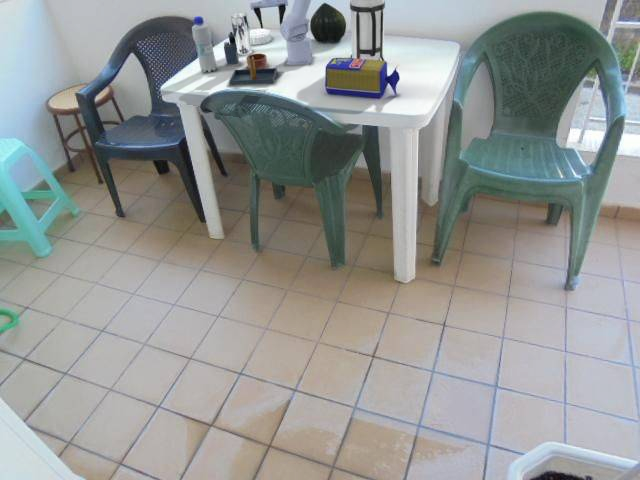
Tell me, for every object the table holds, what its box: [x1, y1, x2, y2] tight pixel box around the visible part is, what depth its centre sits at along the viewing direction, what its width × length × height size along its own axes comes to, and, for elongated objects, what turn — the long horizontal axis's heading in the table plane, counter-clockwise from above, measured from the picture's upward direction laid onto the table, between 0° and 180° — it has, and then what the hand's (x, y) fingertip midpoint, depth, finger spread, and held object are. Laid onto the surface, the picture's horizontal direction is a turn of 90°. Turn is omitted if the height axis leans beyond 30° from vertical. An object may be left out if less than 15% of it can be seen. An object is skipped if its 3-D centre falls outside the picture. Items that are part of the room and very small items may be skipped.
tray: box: [229, 67, 278, 86], centre depth 179 cm, size 16×10×2 cm, turn 86°
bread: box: [324, 57, 401, 99], centre depth 162 cm, size 10×25×10 cm, turn 70°
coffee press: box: [349, 0, 386, 61], centre depth 176 cm, size 17×16×30 cm
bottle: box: [191, 15, 218, 73], centre depth 183 cm, size 7×7×20 cm
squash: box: [309, 2, 347, 43], centre depth 204 cm, size 14×15×15 cm
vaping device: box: [223, 31, 240, 65], centre depth 189 cm, size 3×5×12 cm, turn 78°
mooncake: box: [250, 27, 272, 46], centre depth 212 cm, size 12×12×4 cm
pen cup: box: [246, 52, 269, 69], centre depth 187 cm, size 8×8×4 cm
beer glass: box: [230, 11, 253, 56], centre depth 197 cm, size 7×7×15 cm
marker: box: [248, 54, 257, 79], centre depth 177 cm, size 2×2×8 cm
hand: (271, 26), depth 193 cm, fingers open, 7 cm apart
